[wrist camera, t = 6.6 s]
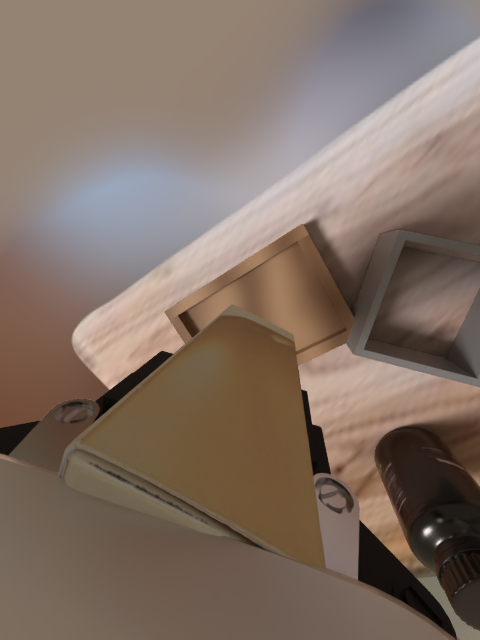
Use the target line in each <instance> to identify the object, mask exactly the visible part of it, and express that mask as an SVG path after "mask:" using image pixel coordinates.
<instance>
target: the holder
mask: <svg viewBox="0 0 480 640" xmlns="http://www.w3.org/2000/svg"><path fill="white" fill-rule="evenodd" d="M403 246H405V247H409V248H414V249H419V250H424V251H428V252H433V253H438V254H443V255H448V256H452V257H457V258H462V259H467V260H472V261H476V262H480V245H475V244H470V243H466V242H461V241H456V240H451V239H446V238H441V237H436V236H431V235H426V234H421V233H416V232H411V231H406V230H401V229H399V230H394V231H390V232H385V233H380V235H379V238H378V240H377V243H376V246H375V249H374V252H373V255H372V258H371V260H370V263H369V266H368V269H367V272H366V275H365V277H364V280H363V283H362V286H361V289H360V292H359V294H358V297H357V300H356V303H355V306H354V309H353V311H352V314H353V316H354V318H355V321H354V323H353V326H352V329H351V332H350V334H349V337H348V340H347V343H346V344H347V345H348V347H349V348H350V350H351V351H352V353H353V354H354V355H358V356H362V357H365V358H369V359H373V360H377V361H381V362H385V363H389V364H392V365H396V366H400V367H404V368H408V369H412V370H416V371H419V372H423V373H427V374H431V375H435V376H439V377H443V378H446V379H450V380H454V381H458V382H462V383H466V384H470V385H473V386H477V387H480V290H479V292H478V294H477V296H476V298H475V300H474V302H473V304H472V306H471V308H470V310H469V312H468V314H467V316H466V318H465V320H464V322H463V324H462V327H461V329H460V331H459V333H458V335H457V337H456V339H455V341H454V343H453V345H452V347H451V349H450V351H449V353H448V355H447V357H446V358H444V357H440V356H436V355H432V354H428V353H424V352H420V351H416V350H412V349H408V348H404V347H400V346H396V345H392V344H388V343H384V342H380V341H376V340H372V339H368V337H369V334H370V332H371V329H372V327H373V324H374V321H375V319H376V316H377V313H378V311H379V308H380V306H381V303H382V300H383V298H384V295H385V293H386V290H387V287H388V285H389V282H390V279H391V277H392V274H393V272H394V269H395V266H396V264H397V261H398V259H399V256H400V253H401V251H402V248H403Z"/></svg>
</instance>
